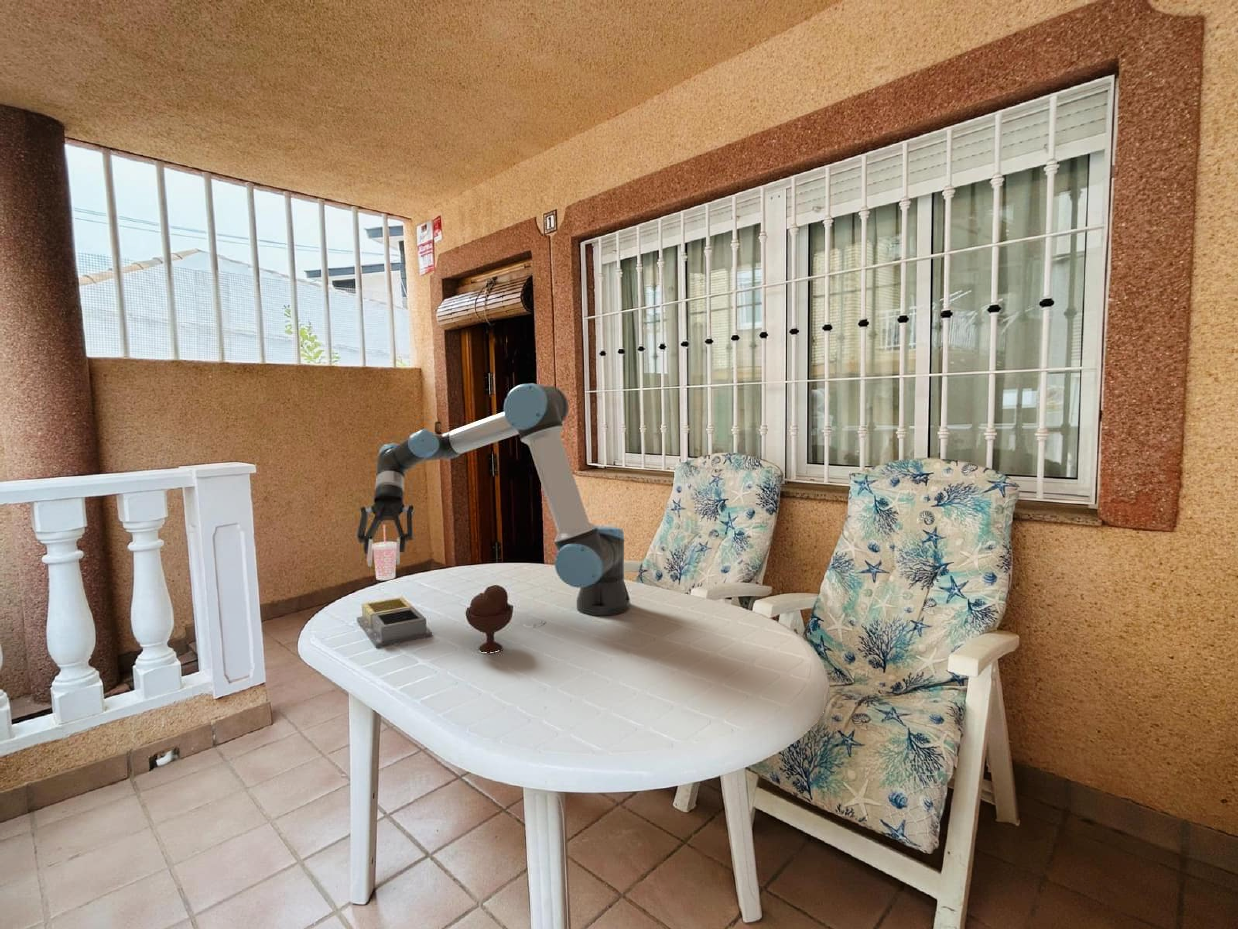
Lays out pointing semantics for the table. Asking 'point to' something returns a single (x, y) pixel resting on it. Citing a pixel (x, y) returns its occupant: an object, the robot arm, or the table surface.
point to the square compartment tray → (392, 622)
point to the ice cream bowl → (490, 615)
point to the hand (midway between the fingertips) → (383, 562)
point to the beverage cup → (385, 559)
